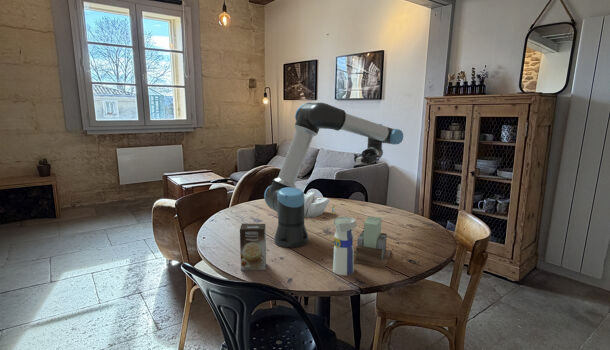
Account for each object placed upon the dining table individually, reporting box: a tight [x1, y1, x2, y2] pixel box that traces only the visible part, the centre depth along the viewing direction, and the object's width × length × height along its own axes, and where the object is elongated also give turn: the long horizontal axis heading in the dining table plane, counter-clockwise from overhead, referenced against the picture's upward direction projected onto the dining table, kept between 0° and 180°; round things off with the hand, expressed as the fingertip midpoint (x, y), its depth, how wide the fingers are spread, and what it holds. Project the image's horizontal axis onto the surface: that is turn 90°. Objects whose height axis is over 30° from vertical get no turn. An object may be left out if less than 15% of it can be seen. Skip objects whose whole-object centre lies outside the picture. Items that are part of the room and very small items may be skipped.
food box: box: [239, 223, 267, 271], centre depth 124 cm, size 9×6×16 cm
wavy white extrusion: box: [304, 191, 331, 218], centre depth 193 cm, size 35×16×10 cm, turn 66°
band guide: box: [354, 230, 392, 269], centre depth 133 cm, size 15×13×9 cm
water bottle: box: [331, 204, 358, 276], centre depth 120 cm, size 8×9×25 cm
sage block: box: [363, 215, 382, 249], centre depth 132 cm, size 9×5×14 cm, turn 157°
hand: (357, 161), depth 150 cm, fingers closed
